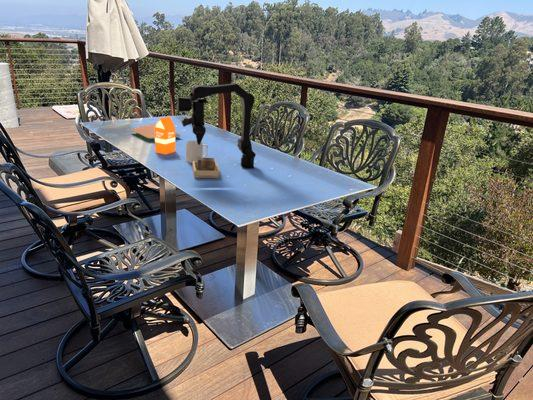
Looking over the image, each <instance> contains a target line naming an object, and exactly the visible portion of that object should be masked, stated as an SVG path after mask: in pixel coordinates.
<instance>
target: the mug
mask: <svg viewBox="0 0 533 400" xmlns="http://www.w3.org/2000/svg"><path fill="white" fill-rule="evenodd" d="M204 146H205V154H204ZM208 147H209V144H205V143H204V142H202V141H201V143H200V145H198V144H197V140H188V141H186V143H185V160H186V162H187V163H189V164H193V161H197V159H198V157H201V158H206V157H207V155H208Z"/></svg>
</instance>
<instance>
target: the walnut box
mask: <svg viewBox="0 0 533 400" xmlns="http://www.w3.org/2000/svg"><path fill="white" fill-rule="evenodd" d="M214 162H216V161H215V158H214V157H204V158H201V157H198V159H197V171H214Z"/></svg>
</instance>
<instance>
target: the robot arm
mask: <svg viewBox="0 0 533 400" xmlns="http://www.w3.org/2000/svg"><path fill="white" fill-rule="evenodd" d="M229 93H235V94H236V95H237V96H238V97H239V98H240V104H241V109H242V116H241V117H242V118H241V137H240V138H238V139H237V146H236V147H237V148H238V150H239V151H240V152H241V158H240V166H241V168H242V169H255V166H254V165H255V158H256V155H257V154H256V153H255V152H254V151H253V148H252V146H253V144H252V142H251V138H250V137H251V123H252V122H251V119H252V109H253V108H254V104H255V95H254V94H252V92H251V93H250V92H248V91H246V90H245V89H243V88H242V87H241V86H240V85H239V84H238V83H236V82H232V83H225V84H217V85H216V84H215V85H206V84H205V85H204V84H203V85H201V84H196V85H194V86H193V87H192V89H191V92H190V93H189V95H187V97H181V96H178V97H177V101H176V102H177V103H176V109H177V112H187V113H189V112H190V111H192V113H191V115H190V116H186V117H183V118H181V119H180V122H181V124H182V126H183V127H187V126H189V125H191V128H192V133H193V134H194V136H195V138H196V141H197V144H198V145H200V143H201V142H202V141H203V139H204V137H205V135H206V126H205V117H206V116H205V104H209V101H208V100H207V97H209V96H212V95H219V94H229Z"/></svg>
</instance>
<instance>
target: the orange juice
mask: <svg viewBox="0 0 533 400" xmlns="http://www.w3.org/2000/svg"><path fill="white" fill-rule="evenodd" d="M155 124H156V126H155V138H154V149H155V150H154V152H155V153H157V154H162V155H168V154H171V153H174V152H176V137H175V132H176V127H175V124H174V122H173V120H172V118H171V116H165V117H161V118H159V119H158V120H157V122H156V123H155Z"/></svg>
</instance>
